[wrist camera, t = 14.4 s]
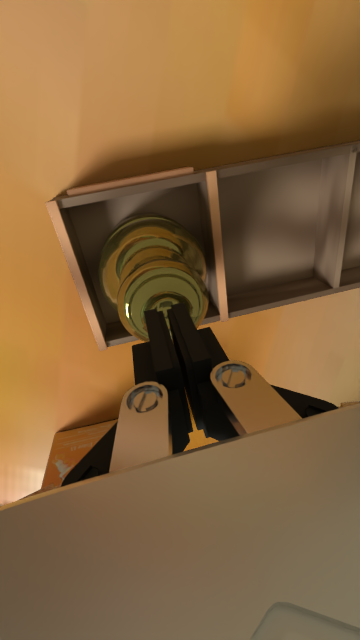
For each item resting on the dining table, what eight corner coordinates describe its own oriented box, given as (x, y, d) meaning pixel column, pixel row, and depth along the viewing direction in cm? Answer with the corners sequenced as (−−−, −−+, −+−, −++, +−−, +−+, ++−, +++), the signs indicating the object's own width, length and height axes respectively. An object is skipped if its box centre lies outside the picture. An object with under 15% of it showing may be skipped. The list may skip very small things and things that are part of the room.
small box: (127, 414, 32) (131, 551, 20) (138, 450, 35) (147, 587, 23) (52, 431, 31) (14, 585, 19) (70, 467, 34) (47, 618, 23)
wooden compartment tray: (406, 255, 29) (447, 268, 25) (100, 326, 26) (97, 351, 22) (440, 119, 23) (499, 110, 19) (52, 191, 20) (39, 195, 17)
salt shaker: (204, 282, 25) (249, 343, 16) (125, 313, 25) (128, 391, 16) (177, 195, 21) (217, 215, 13) (84, 232, 21) (60, 276, 12)
